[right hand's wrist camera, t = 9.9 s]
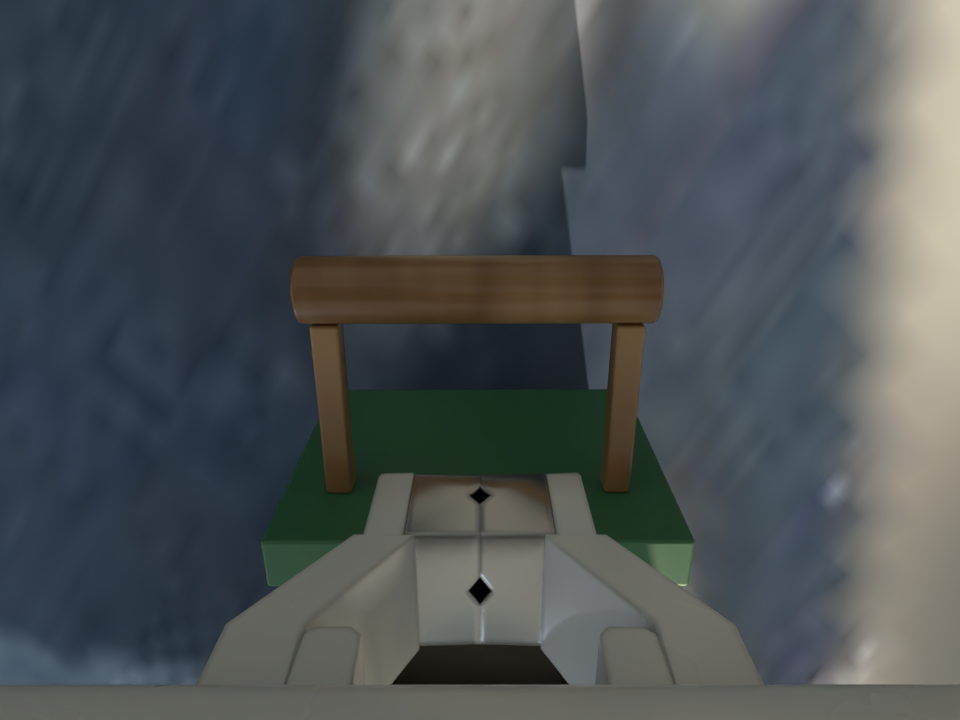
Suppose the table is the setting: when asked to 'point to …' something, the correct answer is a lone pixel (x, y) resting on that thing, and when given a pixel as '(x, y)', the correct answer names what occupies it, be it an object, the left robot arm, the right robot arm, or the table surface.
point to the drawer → (477, 418)
